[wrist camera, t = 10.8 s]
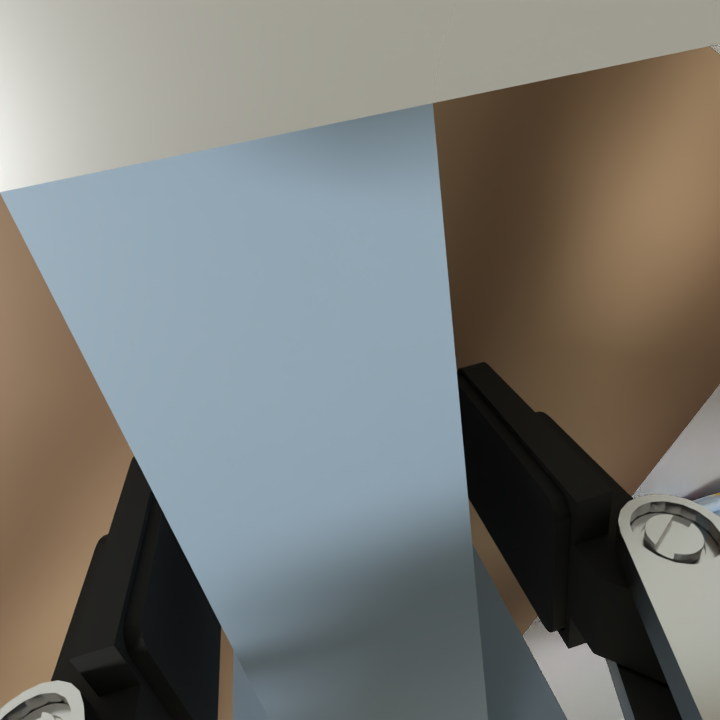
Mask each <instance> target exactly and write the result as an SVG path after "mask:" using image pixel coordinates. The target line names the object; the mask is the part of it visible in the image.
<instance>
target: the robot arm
mask: <svg viewBox="0 0 720 720" xmlns="http://www.w3.org/2000/svg"><path fill="white" fill-rule="evenodd" d="M457 380H458V391H459V402H460V413H461V424H462V435H463V447H464V458H465V469H466V480H467V491H468V498H469V500H470V502H471V503H472V505H473V507H474V509H475V510H476V512H477V514H478V515H479V517H480V519H481V520H482V522H483V524H484V525H485V527H486V529H487V531H488V532H489V534H490V536H491V537H492V539H493V541H494V542H495V544H496V546H497V547H498V549H499V551H500V553H501V554H502V556H503V558H504V559H505V561H506V563H507V564H508V566H509V568H510V569H511V571H512V573H513V575H514V576H515V578H516V580H517V581H518V583H519V585H520V586H521V588H522V590H523V591H524V593H525V595H526V597H527V598H528V600H529V602H530V603H531V605H532V607H533V608H534V610H535V612H536V613H537V615H538V617H539V619H540V620H541V622H542V624H543V625H544V627H545V628H546V629H547V630H548V631H549V632H554V631H558V632H559V634H560V636H561V637H562V639H563V641H564V642H565V644H566V645H567V647H568V649H569V648H572V647H575V646H578V645H581V644H584V643H587V644H588V646H589V647H590V649H591V650H592V652H593V653H594V654H597V655H599V656H601V657H604V658H606V661H607V664H608V668H609V671H610V674H611V677H612V680H613V683H614V686H615V690H616V693H617V696H618V699H619V702H620V705H621V709H622V712H623V715H624V718H625V720H720V517H719V516H717V515H716V514H714V513H713V512H712V511H710V510H709V509H707V508H706V507H704V506H702V505H700V504H697V503H695V502H693V501H691V500H688V499H685V498H681V497H677V496H673V495H664V494H650V495H644V496H639V497H637V498H635V499H633V498H632V497H631V496H630V495H629V494H628V493H627V492H626V491H625V490H624V489H623V488H622V487H621V486H620V485H619V484H618V483H617V482H616V481H615V480H614V479H613V478H612V477H611V476H610V475H609V474H608V473H607V472H606V471H605V470H604V469H603V468H602V467H601V466H600V465H599V464H598V463H597V462H596V461H595V460H593V459H592V458H591V457H590V456H589V455H588V454H587V453H586V452H585V451H584V450H583V449H582V448H581V447H580V446H579V445H578V444H577V443H576V442H575V441H574V440H573V439H572V438H571V437H570V436H569V435H568V434H567V433H566V432H565V431H564V430H563V429H562V428H561V427H560V426H559V425H558V424H557V423H556V422H555V421H554V420H553V419H552V418H551V417H550V416H548V415H547V414H546V413H544V412H541V411H538V412H534V411H533V410H532V409H531V407H530V406H529V405H528V404H527V403H526V402H525V401H524V400H523V399H522V398H521V397H520V396H519V395H518V394H517V393H516V392H515V391H514V390H513V389H512V388H511V387H510V386H509V385H508V384H507V383H506V382H505V381H504V380H503V379H502V378H501V377H500V376H499V375H498V374H497V373H496V372H495V371H494V370H493V369H492V368H491V367H490V366H489V365H488V364H487V363H486V362H481V363H477V364H474V365H470V366H466V367H463V368H459V369H458V370H457ZM220 647H221V625H220V623H219V621H218V619H217V617H216V615H215V613H214V611H213V609H212V607H211V605H210V603H209V601H208V599H207V597H206V595H205V593H204V591H203V589H202V587H201V585H200V583H199V581H198V579H197V578H196V576H195V574H194V572H193V570H192V568H191V566H190V564H189V562H188V560H187V558H186V556H185V554H184V552H183V550H182V548H181V546H180V544H179V542H178V540H177V538H176V536H175V534H174V533H173V531H172V529H171V527H170V525H169V523H168V521H167V519H166V517H165V515H164V513H163V511H162V509H161V507H160V505H159V503H158V501H157V499H156V497H155V495H154V493H153V491H152V489H151V487H150V486H149V484H148V482H147V480H146V478H145V476H144V474H143V472H142V470H141V468H140V466H139V464H138V462H137V460H136V458H135V456H134V457H133V458H132V460H131V463H130V466H129V469H128V472H127V476H126V479H125V482H124V485H123V488H122V491H121V495H120V498H119V501H118V504H117V507H116V511H115V514H114V517H113V520H112V523H111V526H110V530H109V533H108V534H107V535H104V536H103V537H101V538H100V539H99V541H98V543H97V545H96V547H95V550H94V553H93V556H92V559H91V562H90V565H89V568H88V571H87V574H86V577H85V580H84V583H83V586H82V589H81V592H80V595H79V598H78V601H77V604H76V607H75V610H74V613H73V616H72V619H71V622H70V625H69V628H68V631H67V634H66V637H65V640H64V643H63V646H62V649H61V652H60V655H59V658H58V661H57V664H56V667H55V670H54V673H53V676H52V679H51V682H46V683H41V684H39V685H37V686H35V687H33V688H30V689H28V690H26V691H24V692H22V693H21V694H20V695H18V696H17V697H15V698H14V699H12V700H11V701H10V702H8V703H7V704H5V705H4V706H3V707H2V708H1V709H0V720H218V700H219V673H220Z"/></svg>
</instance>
